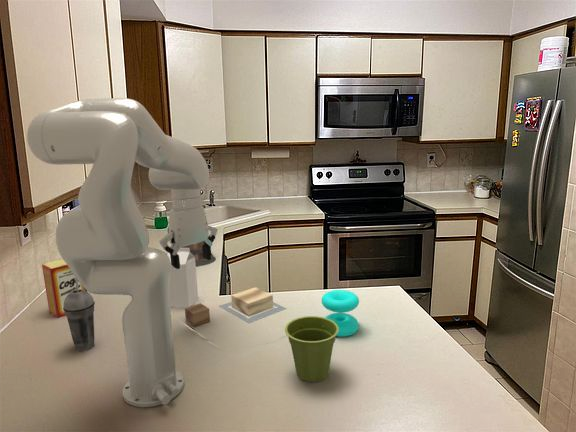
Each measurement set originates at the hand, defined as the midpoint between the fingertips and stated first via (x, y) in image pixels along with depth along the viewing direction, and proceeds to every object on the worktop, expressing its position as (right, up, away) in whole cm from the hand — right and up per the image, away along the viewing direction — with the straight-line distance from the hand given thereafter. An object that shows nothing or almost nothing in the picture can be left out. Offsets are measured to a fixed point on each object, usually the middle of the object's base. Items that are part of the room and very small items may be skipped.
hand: (192, 263), depth 117 cm
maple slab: (+16, -15, +11) cm, 25 cm away
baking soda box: (-42, -17, +15) cm, 48 cm away
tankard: (-14, -7, +59) cm, 61 cm away
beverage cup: (-26, -21, -8) cm, 35 cm away
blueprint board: (+16, -16, +12) cm, 25 cm away
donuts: (+41, -18, -2) cm, 45 cm away
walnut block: (+1, -18, +3) cm, 18 cm away
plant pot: (+32, -23, -22) cm, 45 cm away
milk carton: (-6, -15, +16) cm, 23 cm away
